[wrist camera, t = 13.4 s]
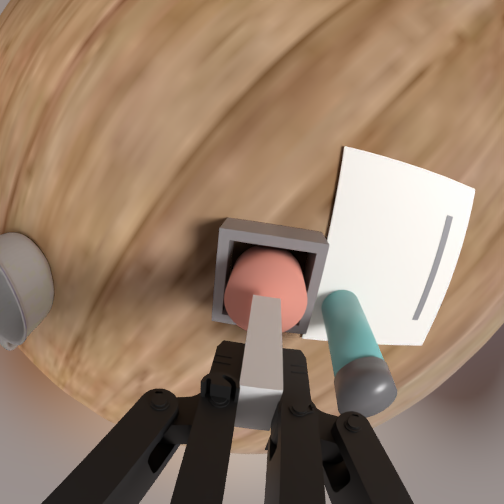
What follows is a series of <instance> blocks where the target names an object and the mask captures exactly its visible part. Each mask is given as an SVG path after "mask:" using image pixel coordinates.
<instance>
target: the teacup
mask: <svg viewBox="0 0 504 504" xmlns="http://www.w3.org/2000/svg"><path fill="white" fill-rule="evenodd" d="M53 298H54V285H53V279H52V274H51V270H50V267H49V264H48V262H47V260H46V258H45V256H44V254H43V253H42V251H41V250H40V249H39V248H38V247H37V246H36V245H35V244H34V243H33V241H32V240H30V239H29V238H28V237H26V236H24V235H22V234H20V233H15V232H11V233H5V234H2V235H0V344H1V345H2V346H3V347H4V348H5V349H6V350H13V349H15V348H16V347H17V346H18V345H20V344H22V343H23V342H24V341H25V340H26V337H27V336H28V335H29V334H30V333H31V332H32V331H33V330H34V329H35V328H36V327H37V326H38V325H39V324H40V323H41V322H42V320H43V319H44V318H45V317H46V316H47V314H48V313H49V311H50V309H51V307H52V304H53Z"/></svg>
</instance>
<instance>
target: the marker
mask: <svg viewBox="0 0 504 504" xmlns="http://www.w3.org/2000/svg"><path fill="white" fill-rule="evenodd" d="M321 309H322V315H323V320H324V324H325V329H326V334H327V339H328V344H329V349H330V354H331V360H332V365H333V371H334V376H335V378H334V386H335V392H336V399H337V405H338V411H339V413H340V414H342V413H344V412H348V411H354V412H358V413H360V414H362V415H363V416H365V418H366V417H370V416H373V415H375V414H378V413H380V412H381V411H383V410H385V409H386V408H387V407H389V406H390V405H391V404H392V403H393V401H394V400H395V398H396V396H397V389H396V386H395V383H394V381H393V378H392V375H391V373H390V370H389V368H388V365H387V363H386V362H385V361H384V359H383V357H382V354H381V352H380V349H379V347H378V344H377V342H376V339H375V337H374V335H373V332H372V330H371V328H370V325H369V323H368V321H367V318H366V316H365V314H364V311H363V309H362V307H361V305H360V302H359V300H358V298H357V296H356V295H355V294H354V293H353V292H351V291H348V290H338V291H335V292H333V293H331V294H329V295H328V296H327V297H326V298H325V300H324V301H323V303H322V308H321Z"/></svg>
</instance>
